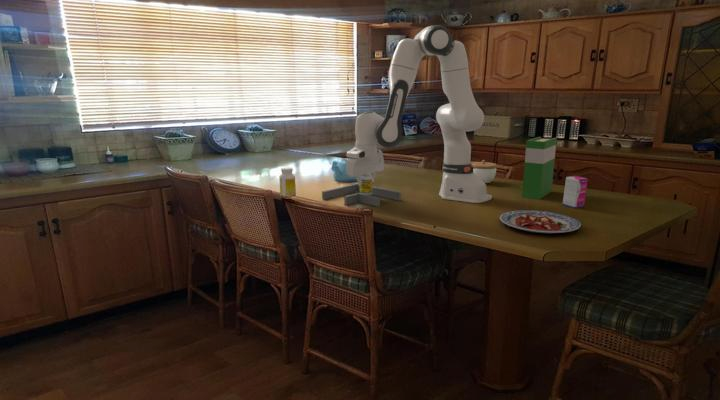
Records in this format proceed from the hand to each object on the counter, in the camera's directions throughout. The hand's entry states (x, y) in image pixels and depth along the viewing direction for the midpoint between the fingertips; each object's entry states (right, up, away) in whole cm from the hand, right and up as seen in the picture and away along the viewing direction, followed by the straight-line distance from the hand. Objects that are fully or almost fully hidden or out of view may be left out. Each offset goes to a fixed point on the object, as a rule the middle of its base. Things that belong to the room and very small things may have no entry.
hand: (365, 184), depth 199 cm
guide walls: (-2, -7, -1) cm, 7 cm away
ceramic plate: (+59, -16, -37) cm, 71 cm away
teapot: (-9, +3, +41) cm, 42 cm away
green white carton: (+75, -4, +8) cm, 76 cm away
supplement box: (+82, -9, -12) cm, 83 cm away
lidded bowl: (+57, +2, +32) cm, 66 cm away
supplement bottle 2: (0, -4, +1) cm, 4 cm away
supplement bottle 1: (-33, -6, +3) cm, 34 cm away
